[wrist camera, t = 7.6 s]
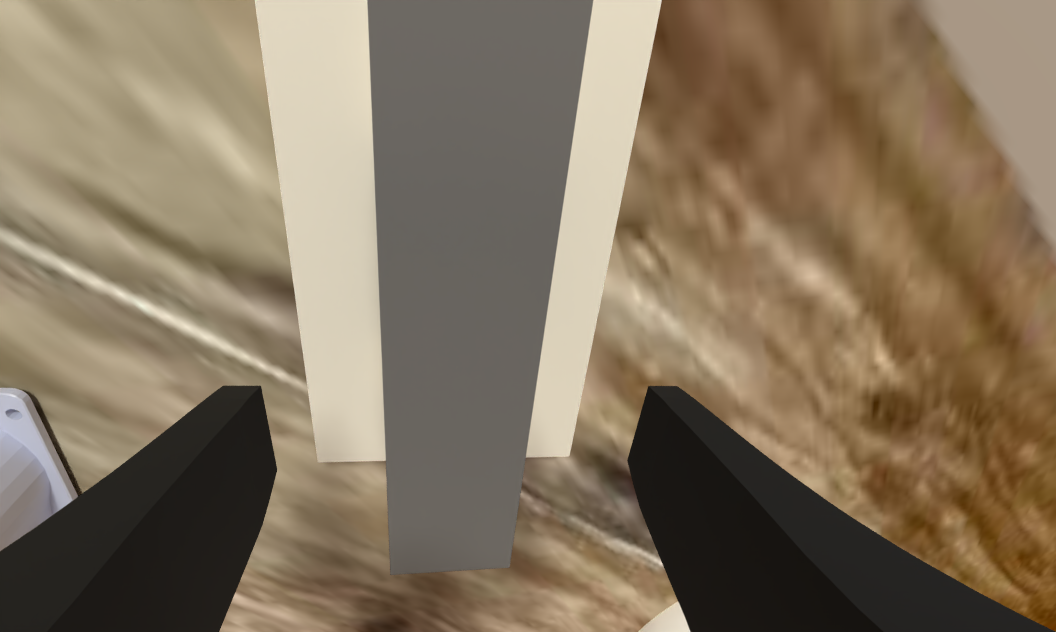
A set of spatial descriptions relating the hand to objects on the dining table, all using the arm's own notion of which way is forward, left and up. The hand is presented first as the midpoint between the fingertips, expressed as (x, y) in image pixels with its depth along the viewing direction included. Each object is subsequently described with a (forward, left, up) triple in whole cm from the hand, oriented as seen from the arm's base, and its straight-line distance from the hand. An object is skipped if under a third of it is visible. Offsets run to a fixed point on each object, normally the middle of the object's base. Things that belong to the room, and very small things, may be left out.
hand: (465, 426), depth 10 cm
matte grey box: (0, 0, -8) cm, 8 cm away
